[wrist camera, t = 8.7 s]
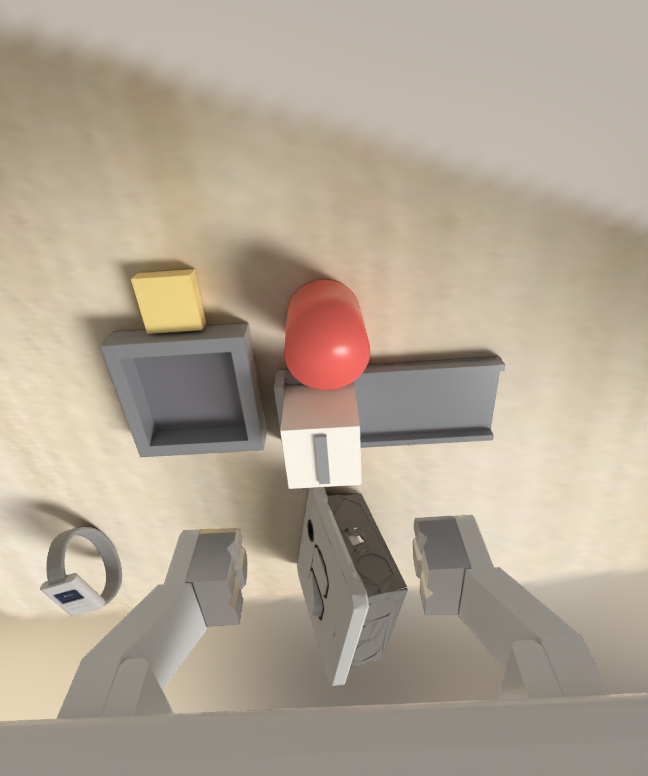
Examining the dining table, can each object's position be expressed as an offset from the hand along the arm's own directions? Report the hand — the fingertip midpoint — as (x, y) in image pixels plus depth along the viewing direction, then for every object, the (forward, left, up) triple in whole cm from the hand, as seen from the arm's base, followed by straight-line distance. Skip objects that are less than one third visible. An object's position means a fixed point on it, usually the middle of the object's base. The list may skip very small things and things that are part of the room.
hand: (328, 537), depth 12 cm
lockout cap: (0, 0, -15) cm, 15 cm away
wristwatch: (+18, +17, -15) cm, 29 cm away
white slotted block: (0, +6, -15) cm, 16 cm away
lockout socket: (+8, +2, -15) cm, 17 cm away
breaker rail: (-4, +6, -15) cm, 17 cm away
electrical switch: (0, +17, -15) cm, 23 cm away
